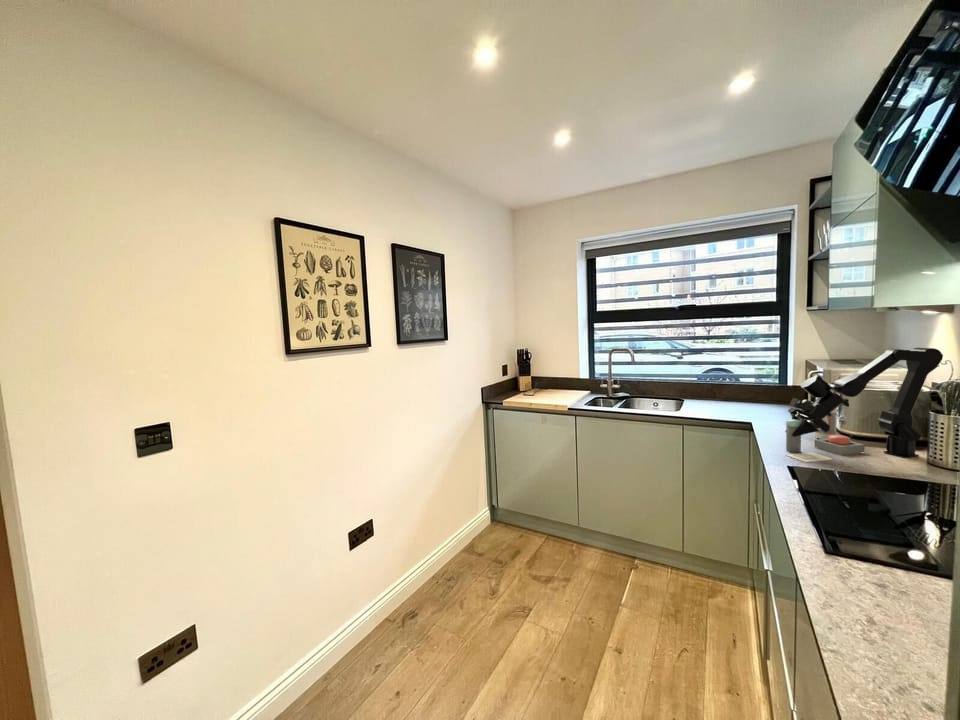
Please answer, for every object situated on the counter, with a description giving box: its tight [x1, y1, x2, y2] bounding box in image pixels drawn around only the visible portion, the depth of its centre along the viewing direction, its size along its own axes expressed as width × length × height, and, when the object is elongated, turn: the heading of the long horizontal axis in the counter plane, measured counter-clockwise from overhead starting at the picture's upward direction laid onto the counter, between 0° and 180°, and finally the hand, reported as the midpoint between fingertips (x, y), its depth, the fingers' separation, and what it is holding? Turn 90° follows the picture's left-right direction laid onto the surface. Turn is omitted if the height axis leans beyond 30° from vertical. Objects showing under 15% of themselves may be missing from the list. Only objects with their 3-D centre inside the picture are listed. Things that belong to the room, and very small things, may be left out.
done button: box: [828, 434, 851, 446], centre depth 150 cm, size 6×6×4 cm
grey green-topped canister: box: [785, 418, 802, 454], centre depth 151 cm, size 5×5×12 cm
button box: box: [814, 439, 865, 456], centre depth 151 cm, size 10×10×3 cm
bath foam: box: [813, 408, 838, 440], centre depth 165 cm, size 7×7×20 cm
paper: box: [786, 451, 834, 463], centre depth 144 cm, size 8×11×1 cm
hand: (789, 434), depth 151 cm, fingers closed on grey green-topped canister, 4 cm apart
